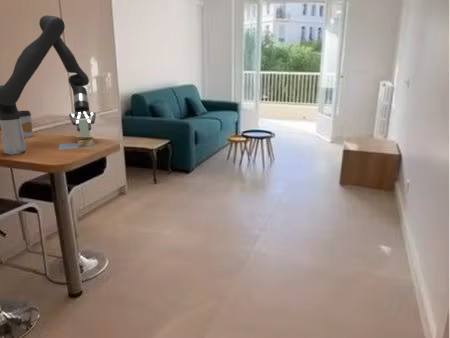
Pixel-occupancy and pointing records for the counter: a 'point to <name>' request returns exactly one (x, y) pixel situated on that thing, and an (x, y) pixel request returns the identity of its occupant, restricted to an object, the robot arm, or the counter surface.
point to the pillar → (83, 127)
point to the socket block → (85, 142)
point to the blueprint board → (72, 146)
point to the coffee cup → (26, 123)
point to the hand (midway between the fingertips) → (84, 130)
